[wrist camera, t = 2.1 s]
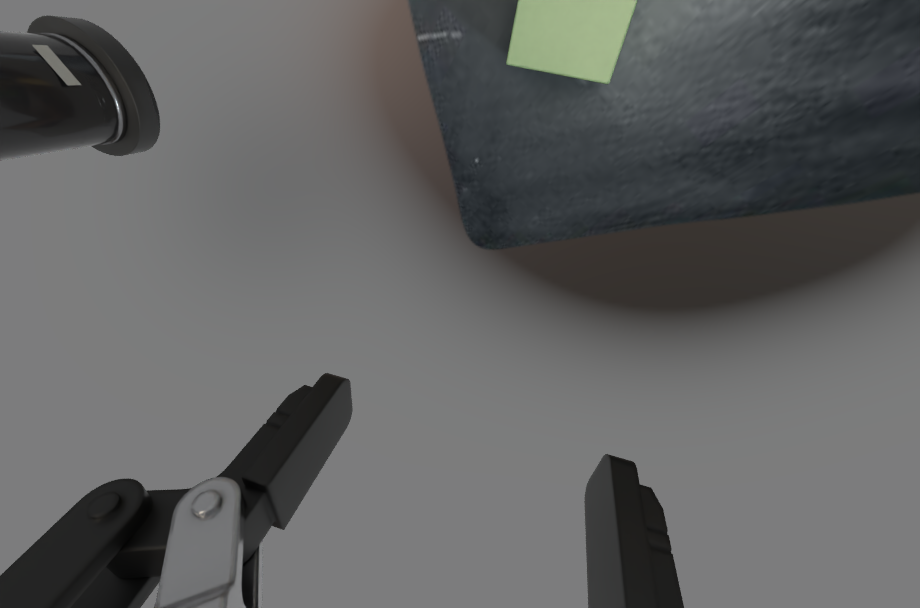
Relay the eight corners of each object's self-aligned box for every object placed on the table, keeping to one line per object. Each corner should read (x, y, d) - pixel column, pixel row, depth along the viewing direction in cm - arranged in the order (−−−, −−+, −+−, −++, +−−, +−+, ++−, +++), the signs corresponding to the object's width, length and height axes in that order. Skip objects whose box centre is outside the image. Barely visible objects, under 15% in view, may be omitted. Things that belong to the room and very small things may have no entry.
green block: (519, 64, 26) (505, 64, 21) (547, -69, 22) (539, -114, 17) (600, 80, 26) (609, 84, 20) (644, -54, 22) (670, -96, 16)
